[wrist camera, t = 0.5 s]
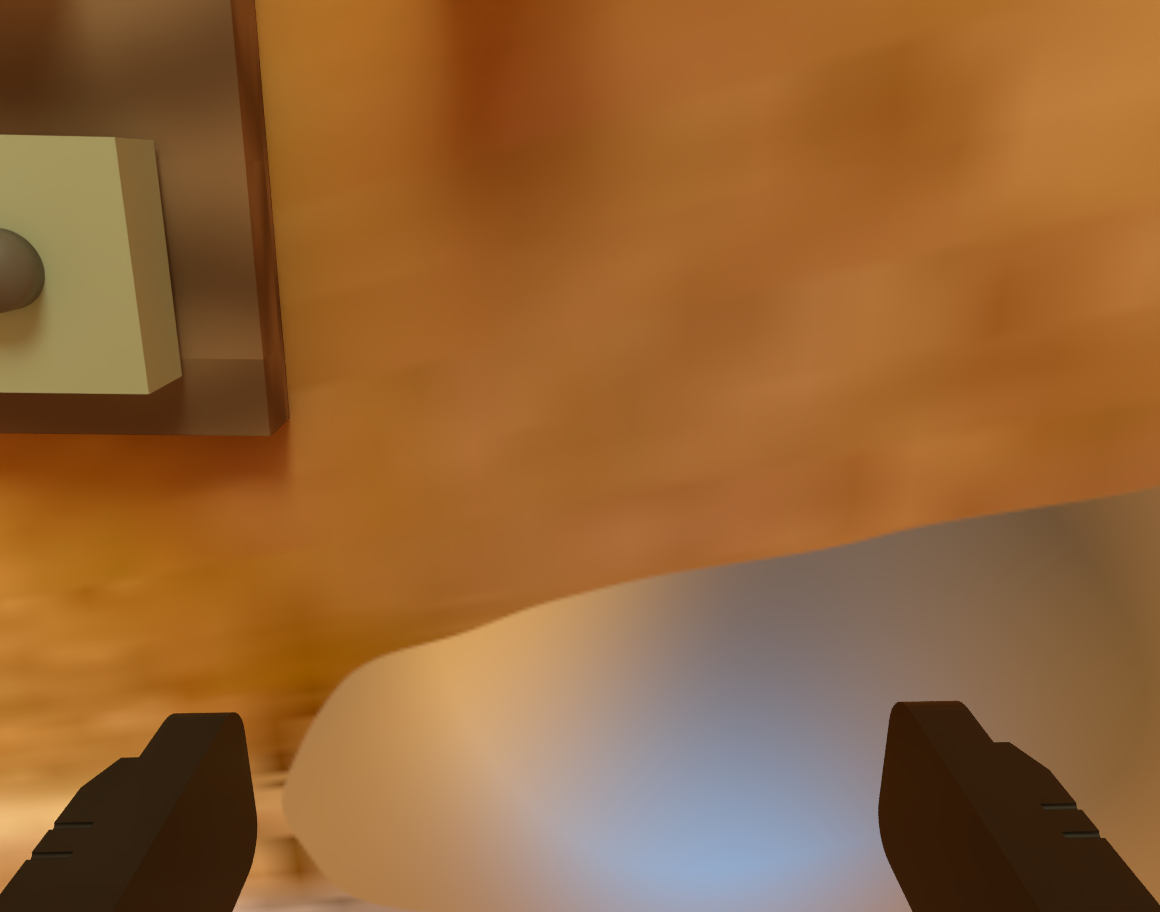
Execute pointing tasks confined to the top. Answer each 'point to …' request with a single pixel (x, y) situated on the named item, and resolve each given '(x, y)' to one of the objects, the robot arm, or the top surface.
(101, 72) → the puzzle board
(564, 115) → the top surface
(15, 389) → the lid
